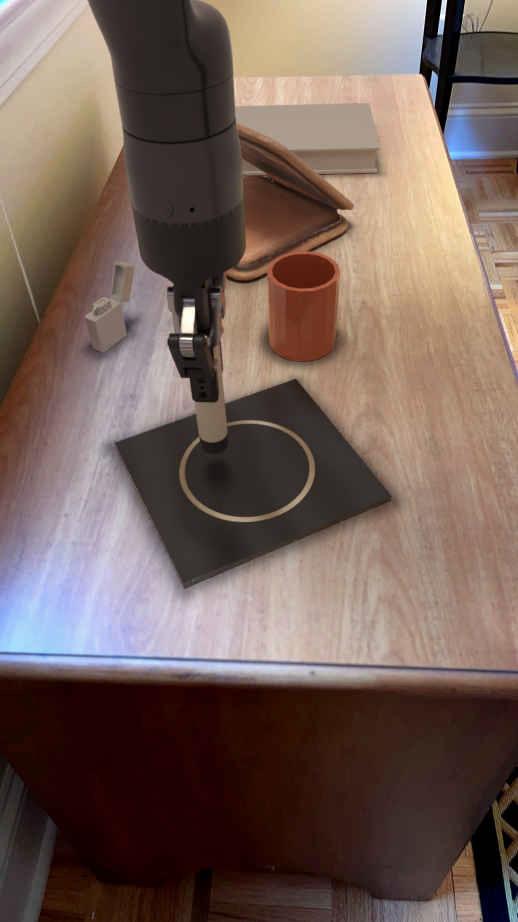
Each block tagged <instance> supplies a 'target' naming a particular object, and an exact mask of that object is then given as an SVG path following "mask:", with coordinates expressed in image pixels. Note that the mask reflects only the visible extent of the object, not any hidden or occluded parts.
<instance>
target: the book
mask: <svg viewBox="0 0 518 922" xmlns="http://www.w3.org/2000/svg"><path fill="white" fill-rule="evenodd" d="M235 116H236V123H238V124H241V125H243V126H245V127H247V128H250V129H252V130H254V131H256V132H259V133H261V134H263V135H265V136H268V137H270V138H272V139H274V140H276V141H277V142H279V143H280V144H282V145H283V146H285V147H286V148H287V149H289V150H290V151H291V152H292V153H294V154H295V155H296V156H297V157H298V158H299V159H301V160H302V161H303V162H304V163H305V164H307V165H308V166H309V167H310V168H311V169H313V170H314V171H315V172H316V173H318V174H319V175H332V174H334V175H335V174H338V175H341V174H342V175H343V174H345V175H346V174H377V173H378V166H377V162H376V159H377V158H376V157H377V151H380V144H379V139H378V135H377V131H376V126H375V120H374V117H373V113H372V108H371V103H369V102H358V103H357V102H356V103H355V102H354V103H317V104H316V103H315V104H311V103H309V104H271V105H270V104H269V105H235ZM242 170H243V177H244V176H246V177H247V176H268V175H267V174H266V173H265V172H263V171H261V170H260V169H258V168H256V167H255V166H253V165H251V164H250V163H248V162H247V161H246V160H244V159H243V158H242Z"/></svg>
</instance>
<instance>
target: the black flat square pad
mask: <svg viewBox="0 0 518 922" xmlns="http://www.w3.org/2000/svg"><path fill="white" fill-rule="evenodd" d="M225 410H226V421H227V432H228V447H227V448H226V449H225V450H224V451H223V452H221V453H218V454H209V453H206V452H205V451H203V450H202V448H201V446H200V439H199V432H198V424H197V417H196V413H194V414H192V415H189V416H186V417H183V418H180V419H177V420H175V421H172V422H168V423H166V424H163V425H161V426H157V427H155V428H152V429H149V430H146V431H144V432H143V431H142V432H141V433H138V434H135V435H132V436H129V437H127V438H124V439H121V440H118V441H116V442H114V447H115V449H116V450H117V454H119V458H120V459H121V461H122V463H123V465H124V467H125V470H126V471H127V474H128V475H129V478H130V480H131V482H132V484H133V486H134V488H135V490H136V492H137V494H138V496H139V498H140V500H141V503H142V504H143V506H144V508H145V511H146V513H147V515H148V517H149V518H150V521H151V523H152V525H153V527H154V529H155V531H156V534H157V535H158V537H159V539H160V541H161V543H162V546H163V548H164V550H165V552H166V554H167V556H168V558H169V560H170V562H171V564H172V566H173V568H174V570H175V572H176V574H177V576H178V579H179V580H180V582H181V585H182V587H183V589H186V588H188V587H190V586H193V585H195V584H197V583H199V582H203V581H204V580H207V579H209V578H211V577H214V576H216V575H218V574H221V573H223V572H226V571H228V570H230V569H232V568H233V569H234V567H237V566H240V565H243V564H244V563H247V562H249V561H252V560H254V559H256V558H258V557H260V556H261V557H262V556H263V555H265V554H268V553H270V552H272V551H274V550H277V549H280V548H282V547H284V546H286V545H289V544H292V543H294V542H296V541H298V540H301V539H303V538H306V537H308V536H309V535H312V534H315V533H317V532H319V531H321V530H324V529H326V528H329V527H331V526H334V525H335V524H338V523H340V522H343V521H345V520H348V519H350V518H352V517H354V516H357V515H359V514H361V513H364V512H366V511H368V510H371V509H374V508H376V507H378V506H381V505H383V504H385V503H388V502H390V501H391V500H392V494H391V493H390V492H389V490H388V489H387V488H386V487H385V486H384V485H383V484H382V482H381V481H380V480H379V479H378V477H377V475H375V474H374V472H373V471H372V469H370V468H369V466H368V465H367V464H366V462H365V461H364V460H363V459H362V458H361V456H360V455H359V454H358V453H357V451H356V450H355V449H354V448H353V447H352V445H351V444H350V443H349V441H347V439H346V438H345V437H344V435H343V434H342V433H341V432H340V430H339V429H338V428H337V427H336V425H334V423H333V422H332V420H331V419H329V417H328V416H327V414H325V412H324V410H322V409H321V407H320V406H319V404H317V402H316V401H315V400H314V399H313V398H312V396H311V395H310V394H309V392H308V391H307V390H306V389H305V388H304V386H303V385H302V384H301V383H300V382H299V380H298V379H297V378H294V379H290V380H288V381H286V382H282V383H279V384H277V385H274V386H271V387H268V388H266V389H265V388H264V389H261V390H259V391H257V392H254V393H251V394H248V395H246V396H242V397H239V398H238V399H234V400H231V401H229V402H225Z"/></svg>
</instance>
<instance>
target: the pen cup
mask: <svg viewBox="0 0 518 922" xmlns="http://www.w3.org/2000/svg"><path fill="white" fill-rule="evenodd" d="M266 275H267V313H268V316H267V317H268V318H267V319H268V341H269V346H270V348H271V349H272V351H273V352H274V353H275V354H276V355H278V356H279V357H281V358H283V359H286V360H288V361H292V362H293V361H294V362H311V361H316V360H319V359H322V358H323V357H325V356H327V355H328V354H329V353H331V351H332V350H333V349H334V347H335V345H336V339H337V329H338V328H337V326H338V314H339V313H338V312H339V311H338V310H339V297H340V280H341V270H340V266H339V263H337V262H336V261H335V260H334V259H333V258H332V257H330V256H328V255H326V254H323V253H322V252H314V251H310V250H308V251H300V252H291V253H288V254H284V255H281V256H279V257H278V258H276V259H275V260H273V261H272V262H271V264H270V265H269V267H268V269H267V273H266Z"/></svg>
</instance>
